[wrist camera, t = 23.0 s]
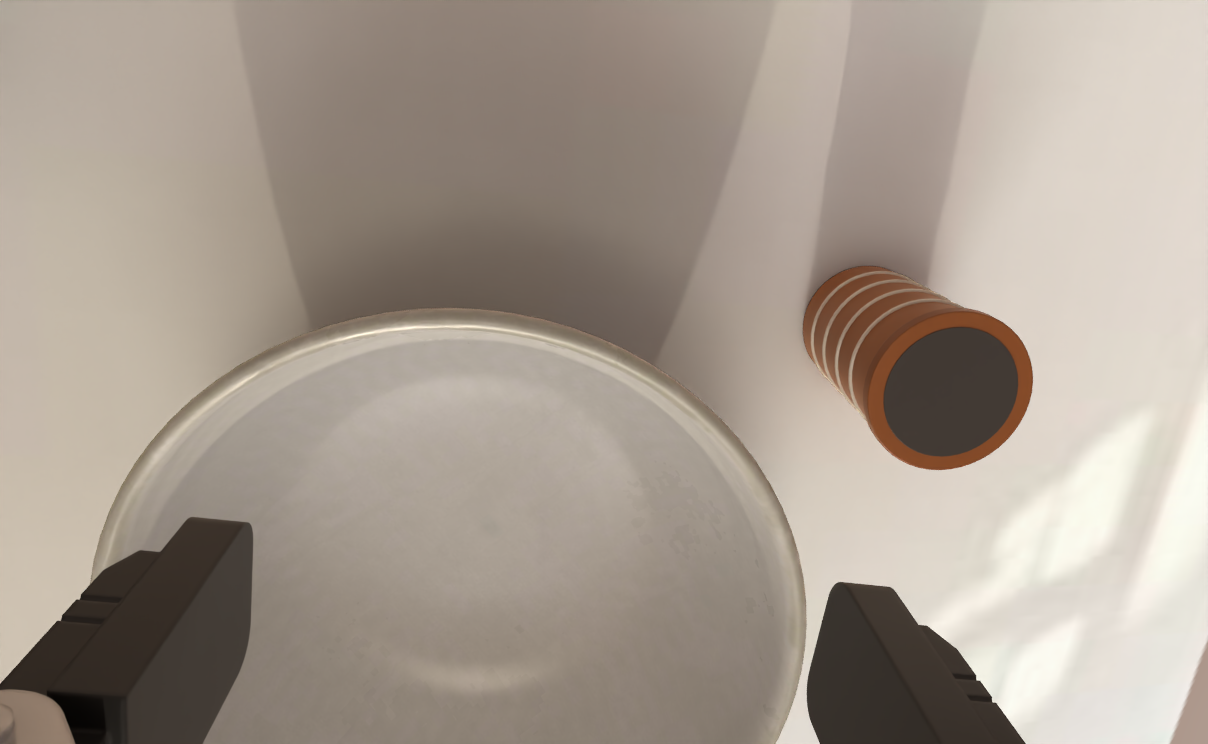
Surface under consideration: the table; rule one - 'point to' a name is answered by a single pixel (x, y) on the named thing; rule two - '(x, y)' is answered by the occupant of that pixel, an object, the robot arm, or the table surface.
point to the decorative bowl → (481, 541)
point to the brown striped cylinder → (919, 366)
